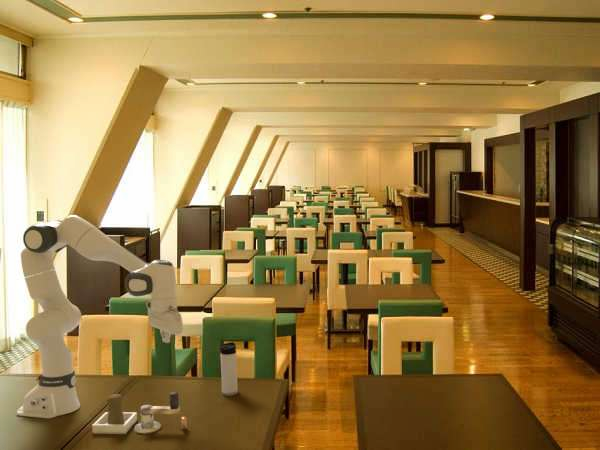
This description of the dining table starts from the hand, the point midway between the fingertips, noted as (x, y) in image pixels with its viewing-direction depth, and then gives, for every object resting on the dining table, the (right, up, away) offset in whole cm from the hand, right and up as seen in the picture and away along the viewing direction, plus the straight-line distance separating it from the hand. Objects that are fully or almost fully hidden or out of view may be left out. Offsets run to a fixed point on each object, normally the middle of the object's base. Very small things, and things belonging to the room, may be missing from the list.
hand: (166, 342), depth 232 cm
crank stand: (0, -28, -10) cm, 30 cm away
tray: (-16, -28, -8) cm, 34 cm away
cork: (-16, -28, -8) cm, 33 cm away
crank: (0, -23, -11) cm, 25 cm away
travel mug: (+21, -25, +23) cm, 39 cm away
